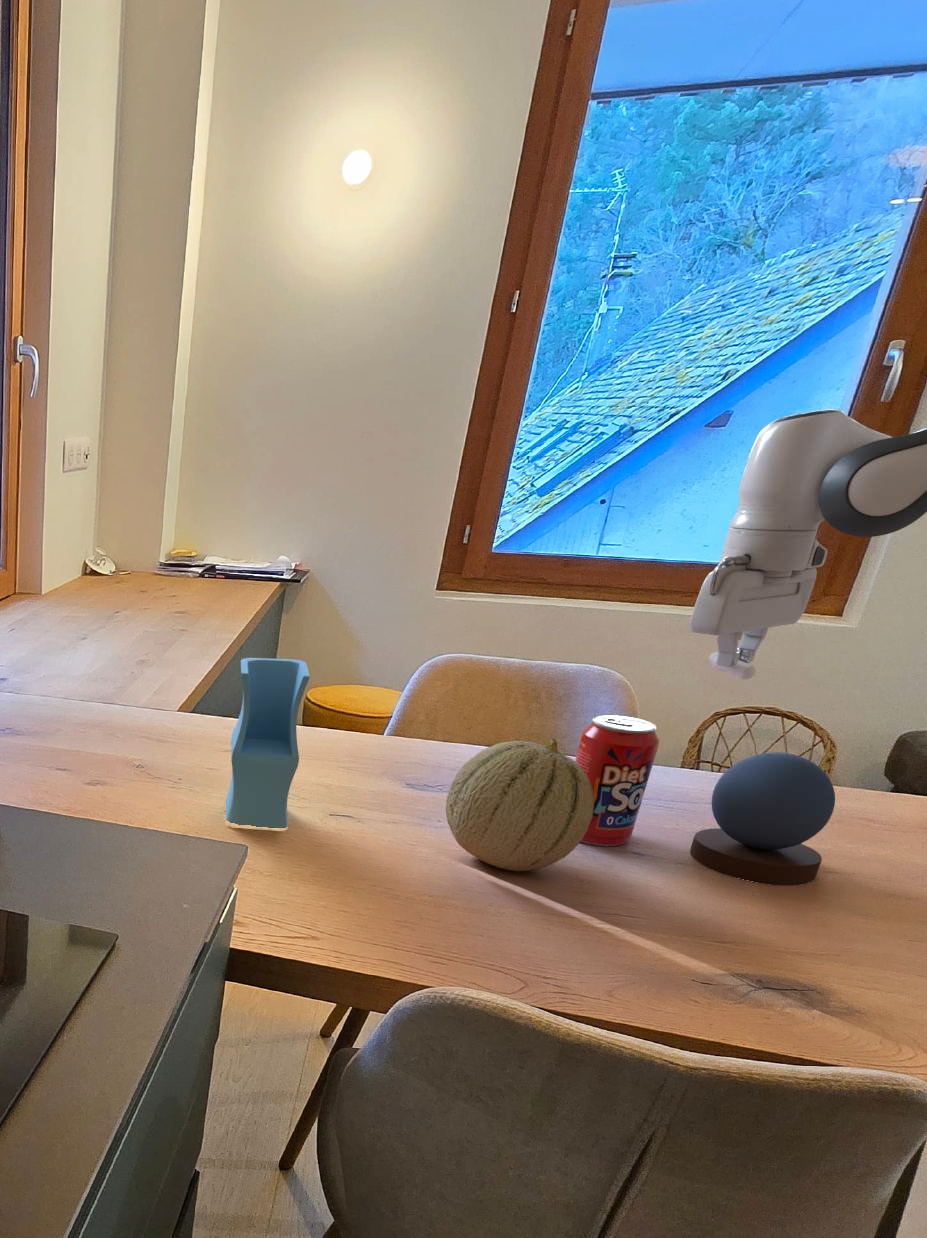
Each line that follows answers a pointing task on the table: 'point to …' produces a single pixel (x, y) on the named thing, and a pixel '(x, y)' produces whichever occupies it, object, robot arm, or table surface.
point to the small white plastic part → (734, 667)
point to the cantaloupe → (520, 805)
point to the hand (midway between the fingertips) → (734, 664)
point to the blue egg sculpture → (767, 820)
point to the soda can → (616, 774)
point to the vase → (265, 741)
